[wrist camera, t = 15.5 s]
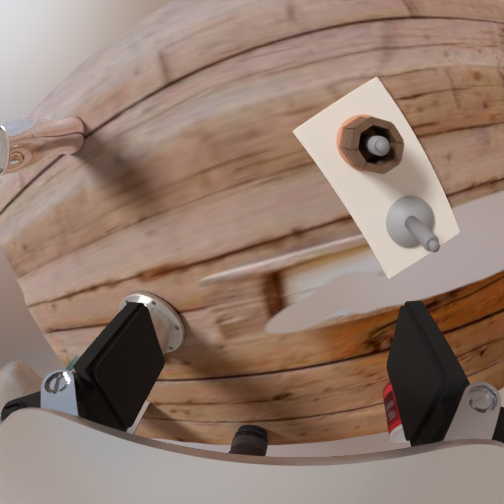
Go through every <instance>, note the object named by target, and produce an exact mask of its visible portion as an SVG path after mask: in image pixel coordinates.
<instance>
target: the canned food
mask: <svg viewBox="0 0 504 504" xmlns="http://www.w3.org/2000/svg"><path fill="white" fill-rule="evenodd" d="M383 398H384V404H385V411H386V417H387V424H388V432H389V437H390V440H391V441H392V442H393V443H407V442H410V441H406V439H405V436H404V431H403V427H402V423H401V419H400V415H399V411H398V407H397V403H396V400H395V396H394V392H393V389H392V385H391V382H389V383H388V384H387V385H386V387H385V388H384V392H383Z"/></svg>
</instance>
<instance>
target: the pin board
mask: <svg viewBox="0 0 504 504" xmlns="http://www.w3.org/2000/svg"><path fill="white" fill-rule="evenodd" d="M360 116H362V117H366V118H368V117H375V118H379V119H382V120H386V121H389V122H392V123H393V124H394V125H395V127H396V128H397V130H398V132H399V133H400V135H401V137H402V138H403V140H404V142H403V143H405V144H404V149H403V155H402V160H401V162H399V163H400V164H399V165H398V166H396V167H395V168H393V169H392V170H390V171H389V172H387V173H385V174H383V175H382V174H378V173H374V172H370V171H366V170H363V169H361V168H360V167H356V166H352V165H351V164H350V163H349V161H348V160H347V158H346V157H345V155H344V154H343V152H342V151H341V150H340V148H339V144H340V138H341V131H342V127H343V126H345V125H347V124H348V123H350V122H351V121H353V120H354V119H356V118H357V117H360ZM292 132H293V133H294V134H295V136H296V137H297V138H298V139H299V141H300V142H301V143H302V145H303V146H304V147H305V149H306V150H307V152H308V153H309V154H310V156H311V157H312V158H313V160H314V161H315V162H316V164H317V165H318V167H319V168H320V170H321V171H322V172H323V174H324V175H325V177H326V178H327V180H328V181H329V182H330V184H331V185H332V187H333V188H334V190H335V191H336V193H337V194H338V196H339V197H340V199H341V200H342V202H343V203H344V205H345V206H346V208H347V210H348V211H349V213H350V214H351V216H352V217H353V219H354V221H355V222H356V224H357V225H358V227H359V229H360V230H361V232H362V234H363V235H364V237H365V239H366V240H367V242H368V244H369V245H370V247H371V249H372V250H373V252H374V254H375V256H376V257H377V259H378V261H379V263H380V264H381V266H382V268H383V270H384V272H385V273H386V275H387V277H388V279H390V278H391V277H393V276H395V275H396V274H398V273H399V272H401V271H403V270H404V269H406V268H407V267H409V266H411V265H412V264H414V263H415V262H417V261H419V260H420V259H422V258H423V257H425V256H426V255H428V254H429V253H431V252H437V251H438V250H439V248H440V246H441V245H443V244H444V243H446V242H447V241H448V240H450V239H451V238H453V237H454V236H456V235H457V234H458V233H460V230H459V228H458V225H457V222H456V220H455V217H454V215H453V212H452V210H451V207H450V205H449V202H448V200H447V198H446V195H445V193H444V191H443V189H442V186H441V184H440V182H439V180H438V178H437V176H436V174H435V172H434V170H433V168H432V166H431V164H430V162H429V160H428V158H427V156H426V154H425V152H424V150H423V148H422V147H421V145H420V143H419V141H418V139H417V138H416V136H415V134H414V132H413V131H412V129H411V127H410V126H409V124H408V122H407V121H406V119H405V118H404V116H403V114H402V113H401V111H400V110H399V108H398V107H397V105H396V104H395V102H394V101H393V99H392V98H391V96H390V95H389V93H388V92H387V90H386V89H385V88H384V86H383V85H382V83H381V82H380V81H379V79H378V78H377V77H375V78H373V79H372V80H370V81H368V82H367V83H365V84H363V85H362V86H360V87H358V88H357V89H355V90H354V91H352V92H350V93H349V94H347V95H346V96H344V97H343V98H341V99H339V100H338V101H336V102H335V103H333V104H332V105H330V106H329V107H327V108H326V109H324V110H323V111H321V112H320V113H318V114H317V115H315V116H314V117H312V118H311V119H309V120H308V121H306V122H305V123H303V124H302V125H300V126H299V127H298V128H296V129H295V130H293V131H292ZM389 149H390V145H389V142H388V140H387V139H386V138H385V137H382V136H378V135H377V134H376V132H375V131H374V129H371V128H368V129H366V130H365V131H363V132H361V134H360V140H359V146H358V150H359V151H360V153H361V154H362V156H363V158H364V159H366V160H369V159H370V158H372V157H373V156H375V155H378V156H384V155H386V154H387V153H388V152H389Z"/></svg>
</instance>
